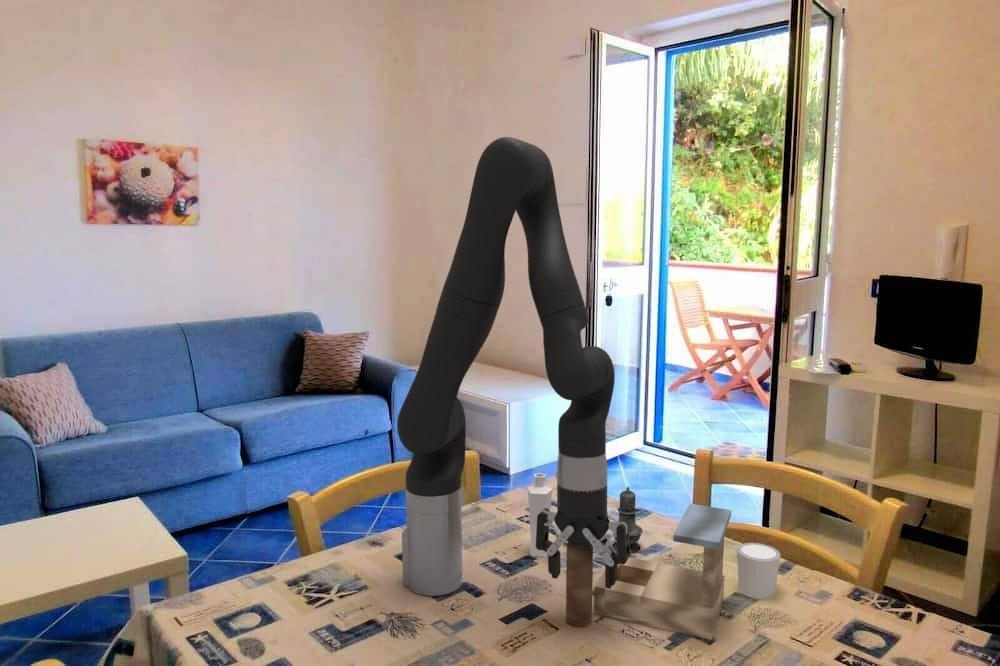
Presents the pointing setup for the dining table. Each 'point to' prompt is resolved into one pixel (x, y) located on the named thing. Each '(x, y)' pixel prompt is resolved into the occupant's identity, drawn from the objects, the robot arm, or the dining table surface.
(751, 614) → the dining table surface
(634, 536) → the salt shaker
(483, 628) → the dining table surface
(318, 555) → the dining table surface
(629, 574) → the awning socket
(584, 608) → the peg
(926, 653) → the dining table surface
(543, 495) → the perfume bottle
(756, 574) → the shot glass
